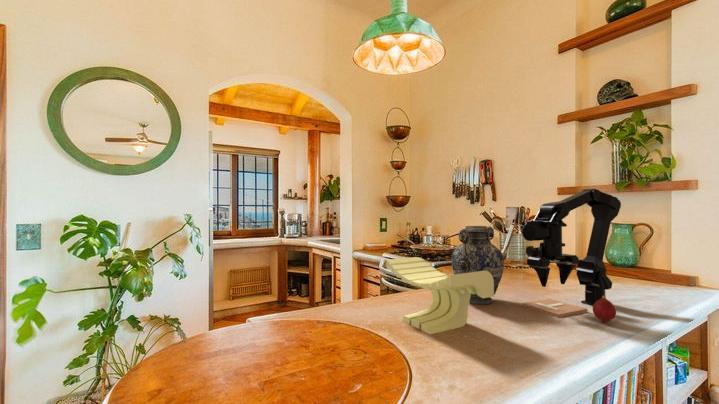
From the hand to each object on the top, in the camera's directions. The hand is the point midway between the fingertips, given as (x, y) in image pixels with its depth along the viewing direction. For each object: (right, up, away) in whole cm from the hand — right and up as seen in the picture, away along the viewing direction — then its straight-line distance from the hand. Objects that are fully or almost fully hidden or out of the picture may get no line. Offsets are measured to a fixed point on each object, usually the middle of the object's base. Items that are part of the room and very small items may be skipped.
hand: (553, 285), depth 117 cm
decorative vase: (-22, -9, +11) cm, 26 cm away
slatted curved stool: (-43, -8, -13) cm, 46 cm away
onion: (+7, -8, -14) cm, 18 cm away
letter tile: (0, -8, 0) cm, 8 cm away
